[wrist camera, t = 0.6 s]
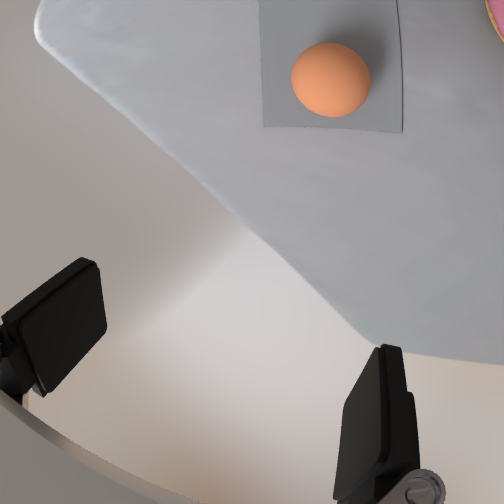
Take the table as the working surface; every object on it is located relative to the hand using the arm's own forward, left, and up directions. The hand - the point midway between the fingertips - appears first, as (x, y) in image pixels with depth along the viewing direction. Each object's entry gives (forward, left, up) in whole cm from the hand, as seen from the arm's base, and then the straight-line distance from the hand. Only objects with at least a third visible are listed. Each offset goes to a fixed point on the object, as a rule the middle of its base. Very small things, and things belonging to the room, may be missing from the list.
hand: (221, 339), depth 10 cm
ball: (-2, -9, -18) cm, 20 cm away
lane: (-3, -21, -21) cm, 30 cm away
